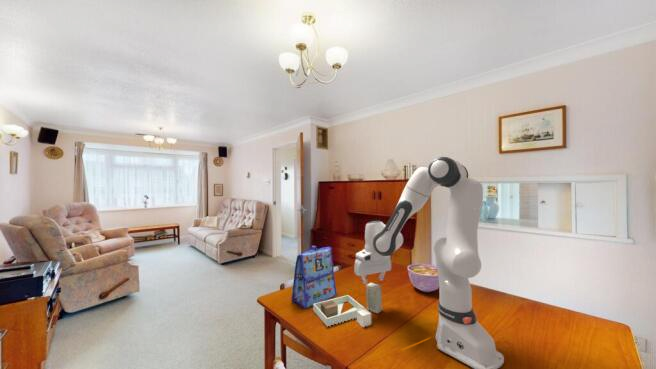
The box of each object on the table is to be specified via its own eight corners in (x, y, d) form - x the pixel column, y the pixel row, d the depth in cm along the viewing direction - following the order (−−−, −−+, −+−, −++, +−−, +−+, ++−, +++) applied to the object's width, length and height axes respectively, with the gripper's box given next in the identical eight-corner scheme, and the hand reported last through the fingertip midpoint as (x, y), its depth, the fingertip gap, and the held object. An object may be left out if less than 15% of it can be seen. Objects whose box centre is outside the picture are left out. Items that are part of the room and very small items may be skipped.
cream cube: (371, 324, 106) (371, 313, 106) (362, 327, 104) (362, 316, 104) (365, 319, 110) (365, 308, 110) (357, 322, 108) (356, 311, 108)
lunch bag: (305, 310, 119) (305, 251, 119) (290, 300, 129) (290, 246, 129) (337, 296, 133) (337, 244, 133) (322, 288, 144) (321, 240, 144)
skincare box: (382, 310, 118) (382, 285, 118) (377, 314, 115) (377, 288, 115) (371, 306, 122) (370, 282, 122) (366, 309, 119) (365, 284, 119)
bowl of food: (401, 288, 142) (400, 269, 142) (417, 279, 155) (417, 261, 155) (435, 300, 127) (434, 278, 127) (450, 289, 141) (450, 269, 141)
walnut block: (337, 316, 112) (337, 305, 112) (326, 319, 109) (326, 308, 109) (331, 310, 117) (331, 299, 117) (320, 313, 115) (320, 302, 115)
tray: (364, 315, 114) (364, 307, 114) (326, 327, 105) (326, 318, 105) (348, 301, 127) (348, 294, 127) (313, 311, 118) (313, 303, 118)
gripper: (386, 249, 126) (385, 276, 126) (352, 254, 117) (352, 282, 117) (394, 253, 120) (393, 280, 121) (360, 258, 111) (359, 288, 111)
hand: (373, 281), depth 119 cm, fingers open, 8 cm apart
